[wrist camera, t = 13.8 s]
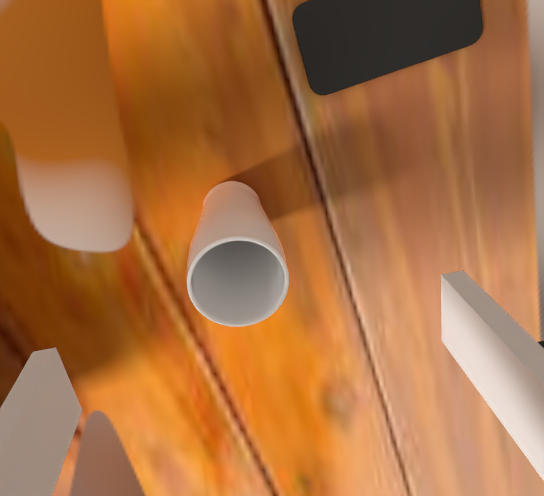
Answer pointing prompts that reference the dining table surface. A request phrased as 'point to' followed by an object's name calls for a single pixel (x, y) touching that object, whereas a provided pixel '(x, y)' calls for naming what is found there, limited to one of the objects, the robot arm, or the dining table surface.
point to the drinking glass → (236, 259)
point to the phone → (378, 36)
